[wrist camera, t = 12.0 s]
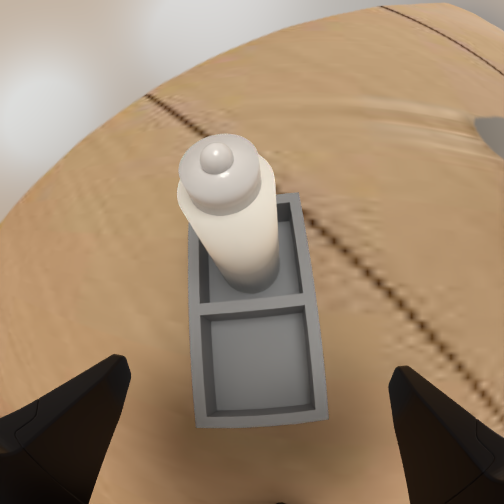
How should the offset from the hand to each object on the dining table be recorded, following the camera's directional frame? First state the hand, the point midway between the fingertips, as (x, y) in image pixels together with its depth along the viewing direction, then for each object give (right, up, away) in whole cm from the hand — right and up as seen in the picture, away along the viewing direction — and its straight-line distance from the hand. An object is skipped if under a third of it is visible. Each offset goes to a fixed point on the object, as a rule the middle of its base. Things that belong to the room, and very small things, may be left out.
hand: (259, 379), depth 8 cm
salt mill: (0, +3, +15) cm, 15 cm away
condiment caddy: (0, -1, +14) cm, 14 cm away
